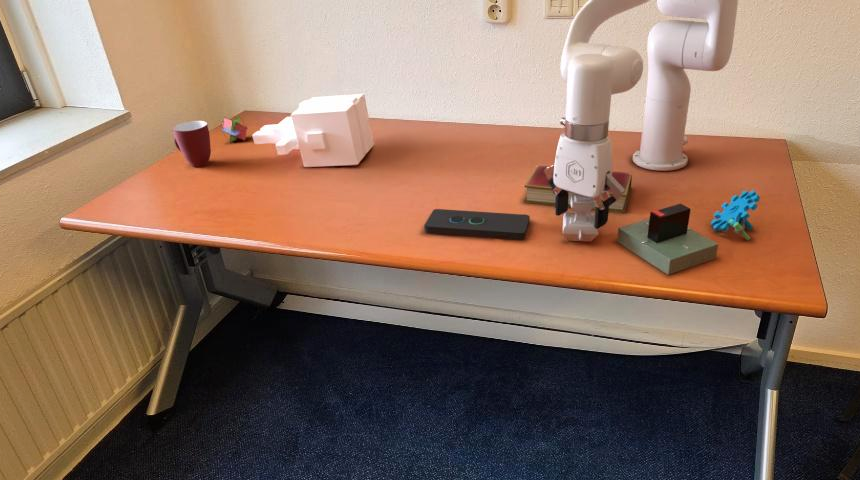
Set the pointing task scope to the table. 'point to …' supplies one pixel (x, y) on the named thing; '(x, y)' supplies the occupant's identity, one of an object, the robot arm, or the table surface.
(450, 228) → the smart home device
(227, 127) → the geometric puzzle
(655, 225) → the black rectangular block
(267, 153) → the table surface
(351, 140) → the white voxel figure
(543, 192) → the hardcover book
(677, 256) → the green base plate
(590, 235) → the white square urn
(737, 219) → the blue splat shape
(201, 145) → the mug
